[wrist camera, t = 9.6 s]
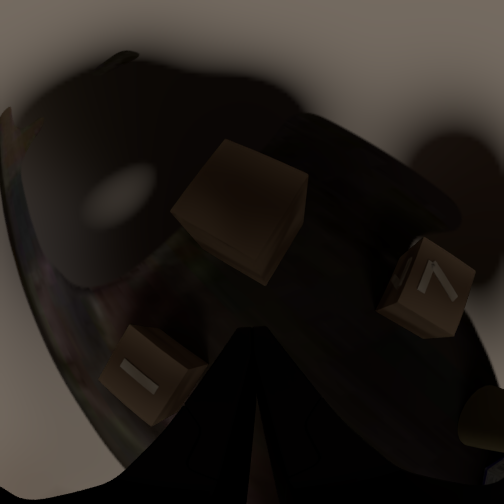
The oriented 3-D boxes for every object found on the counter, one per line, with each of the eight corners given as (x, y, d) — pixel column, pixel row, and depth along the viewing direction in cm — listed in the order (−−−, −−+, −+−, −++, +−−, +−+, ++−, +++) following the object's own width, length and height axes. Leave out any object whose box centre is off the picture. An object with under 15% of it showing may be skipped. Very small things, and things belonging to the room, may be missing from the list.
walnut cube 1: (177, 411, 20) (150, 426, 15) (130, 374, 21) (96, 378, 17) (209, 364, 21) (187, 369, 16) (158, 327, 22) (127, 323, 18)
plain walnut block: (265, 286, 22) (255, 260, 15) (203, 249, 24) (170, 211, 17) (303, 223, 24) (308, 174, 16) (241, 192, 25) (225, 138, 18)
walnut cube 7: (422, 338, 20) (454, 336, 15) (373, 310, 21) (396, 301, 16) (444, 285, 21) (476, 270, 16) (398, 256, 22) (423, 235, 17)
